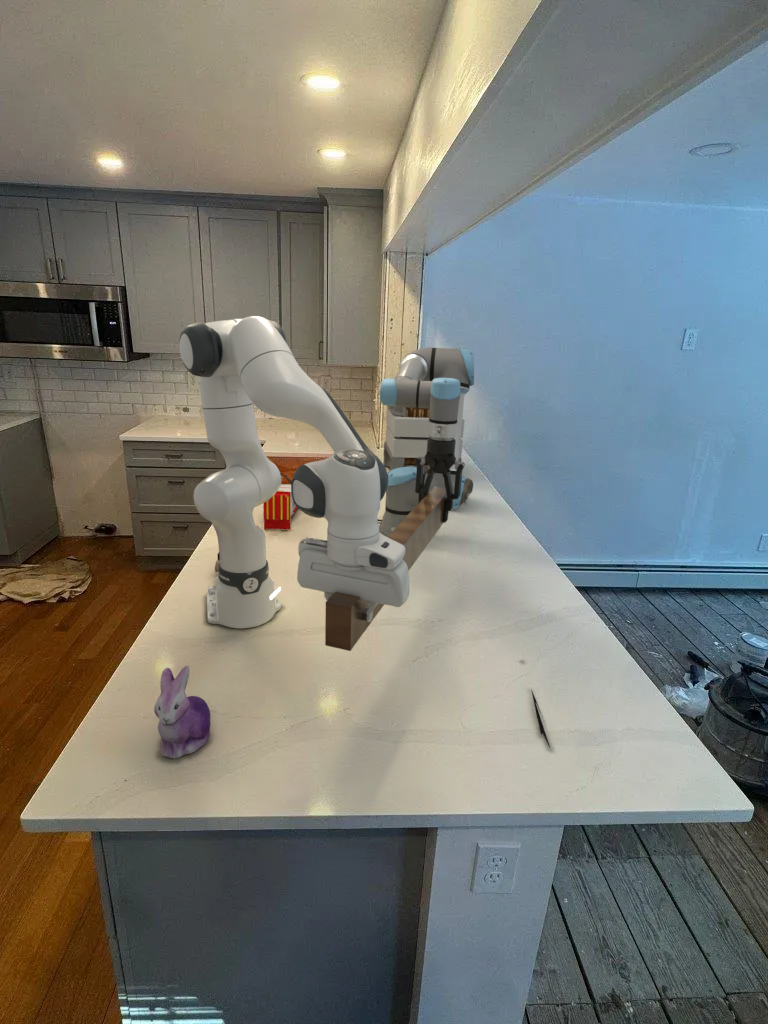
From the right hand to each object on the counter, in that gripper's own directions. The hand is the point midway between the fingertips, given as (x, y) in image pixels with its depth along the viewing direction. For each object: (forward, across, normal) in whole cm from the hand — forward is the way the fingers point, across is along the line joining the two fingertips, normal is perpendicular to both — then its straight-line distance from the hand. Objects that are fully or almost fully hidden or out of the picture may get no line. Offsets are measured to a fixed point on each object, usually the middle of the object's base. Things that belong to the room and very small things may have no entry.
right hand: (435, 519), depth 159 cm
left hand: (-3, +2, -63) cm, 63 cm away
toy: (+20, -66, +27) cm, 74 cm away
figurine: (+20, -22, -80) cm, 86 cm away
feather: (+20, +35, -43) cm, 59 cm away
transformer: (+20, -39, +110) cm, 118 cm away
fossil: (+20, -12, +74) cm, 78 cm away
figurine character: (+20, -56, -18) cm, 62 cm away
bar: (0, +1, -32) cm, 32 cm away
